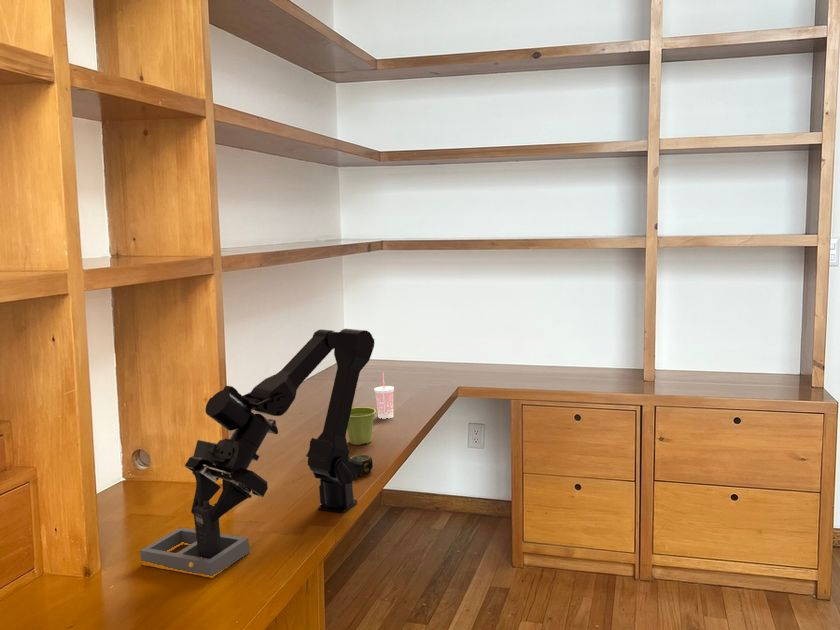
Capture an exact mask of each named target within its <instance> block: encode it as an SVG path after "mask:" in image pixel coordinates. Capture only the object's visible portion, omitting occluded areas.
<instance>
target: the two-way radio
mask: <svg viewBox="0 0 840 630" xmlns="http://www.w3.org/2000/svg"><path fill="white" fill-rule="evenodd" d="M195 483H196V486H195V488H196V487H197V500H198V505H197V506H195V507H194V514H193V519H194V530H195V531H196V539H197V546H198V554H199V556H200V557H202V558H206V559H211V558H212V557H214V556H215V555H217V554H218V553H220V552H221V540H220V534H221V531H220V530H221V529H220V518H219V519H217V520H216V521H212V520H210V516H211V514H212V511H213V509H214V507H215V505H216V503H217V502H215V503H214V504H213V505H212V504H211V503H210V500H209V501H204V503H203V494H202V487H201V481H200V479H197V480H196V479H195Z"/></svg>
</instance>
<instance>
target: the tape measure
mask: <svg viewBox="0 0 840 630" xmlns="http://www.w3.org/2000/svg"><path fill="white" fill-rule="evenodd" d="M372 458H373V457H372V456H370V455H368V454H366V453H365V454H363V453H359V454H352V455H349V457H348V461H349V462H350V463H351V464H352V465H353V466H355V467H356V468H357V469H358V476H363V475H364V474H366V473H367V474H368V473H369V472H370V471H372V470H373V466H374V465H373V463H374V462H373V459H372Z"/></svg>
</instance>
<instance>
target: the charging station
mask: <svg viewBox="0 0 840 630" xmlns="http://www.w3.org/2000/svg"><path fill="white" fill-rule="evenodd" d="M220 540H221V552H220V553H218V554H217V555H215V556H214V557H212V558H211V559H206V558H201V557H200V556H199V554H198V546H197V539H196V531H195V528H194V529H193V528H186V527H178V528H177V529H175V530H173V531H172V532H170V533H167V534H166V535H165V536H162V537H161V538H159V539H157V540H155V541H153V542H151V544H148V545H147V546H145V547H142V548H141V549H140V550H139V553H140V554H139V555H140V562H141V561H145V562H150V563H153V564H157V565H163V566H165V567H168V568H173V569H177V570H183V571H187V572H192V573H197V574H198V573H199V574H204V575H209V576H213V575H214V574H216V573H218V572H220V571H221V570H223V569H225V568H226V567H228V566H229V565H231V564H232V563H234V562H236V561H237V560H239V559H240V558H242V557H243V558H245V557H246V556H248V555H249V554H250V543H249V537H244V536H238V535H237V536H236V535H231V534H223V533H220ZM181 542H184V543H188V544H191V545H189V546H186V547H184V548H183V549H181V550H179V551H178V552H173V551H171V552H167V550H169V549H171V548H172V547H174V546H176V545H178V544H180V543H181ZM248 553H249V554H248ZM247 554H248V555H247ZM245 555H246V556H245ZM244 556H245V557H244ZM243 558H242V559H243ZM240 560H241V559H240ZM240 560H239V561H240ZM237 562H238V561H237ZM237 562H236V563H237Z"/></svg>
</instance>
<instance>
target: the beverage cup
mask: <svg viewBox="0 0 840 630" xmlns="http://www.w3.org/2000/svg"><path fill="white" fill-rule="evenodd" d="M381 375H382V385H381V386H377V387H374V388H373V390H374V393H375V400H376V406H377V407H376V408H377V414H378V419H381V418H382V420H387V419H386V418H388V419H392V418H394V391H395V387H394V386H393V385H392V386H391V385H385V384H386V383H385V382H386V381H385V372H384V371H383V372H381Z"/></svg>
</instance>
